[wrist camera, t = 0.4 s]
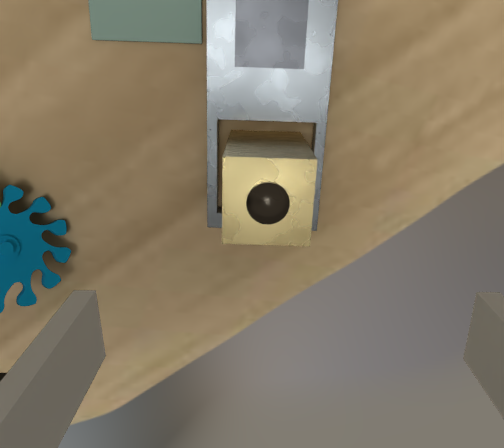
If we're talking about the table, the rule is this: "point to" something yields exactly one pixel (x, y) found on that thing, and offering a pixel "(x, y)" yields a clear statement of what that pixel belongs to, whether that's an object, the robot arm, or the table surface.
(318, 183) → the rail
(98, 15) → the translucent green panel
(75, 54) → the table surface
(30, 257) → the blue spiky knobbed toy
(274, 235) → the wooden speaker box
